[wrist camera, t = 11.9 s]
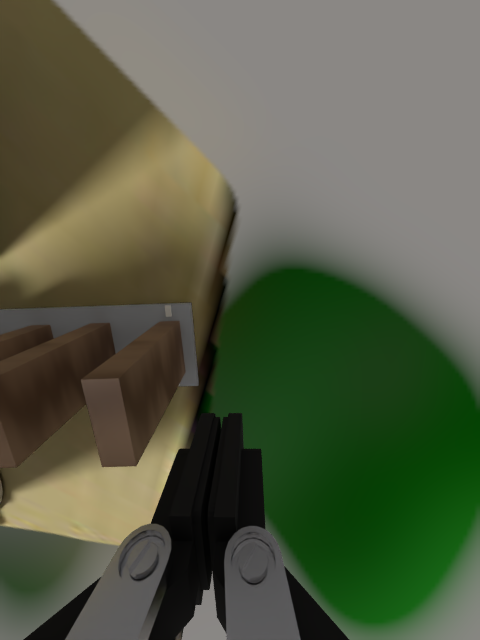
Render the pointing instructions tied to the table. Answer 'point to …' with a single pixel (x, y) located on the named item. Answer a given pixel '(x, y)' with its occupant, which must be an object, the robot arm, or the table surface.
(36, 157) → the table surface
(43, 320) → the felt strip
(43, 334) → the tile
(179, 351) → the tile
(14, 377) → the tile
